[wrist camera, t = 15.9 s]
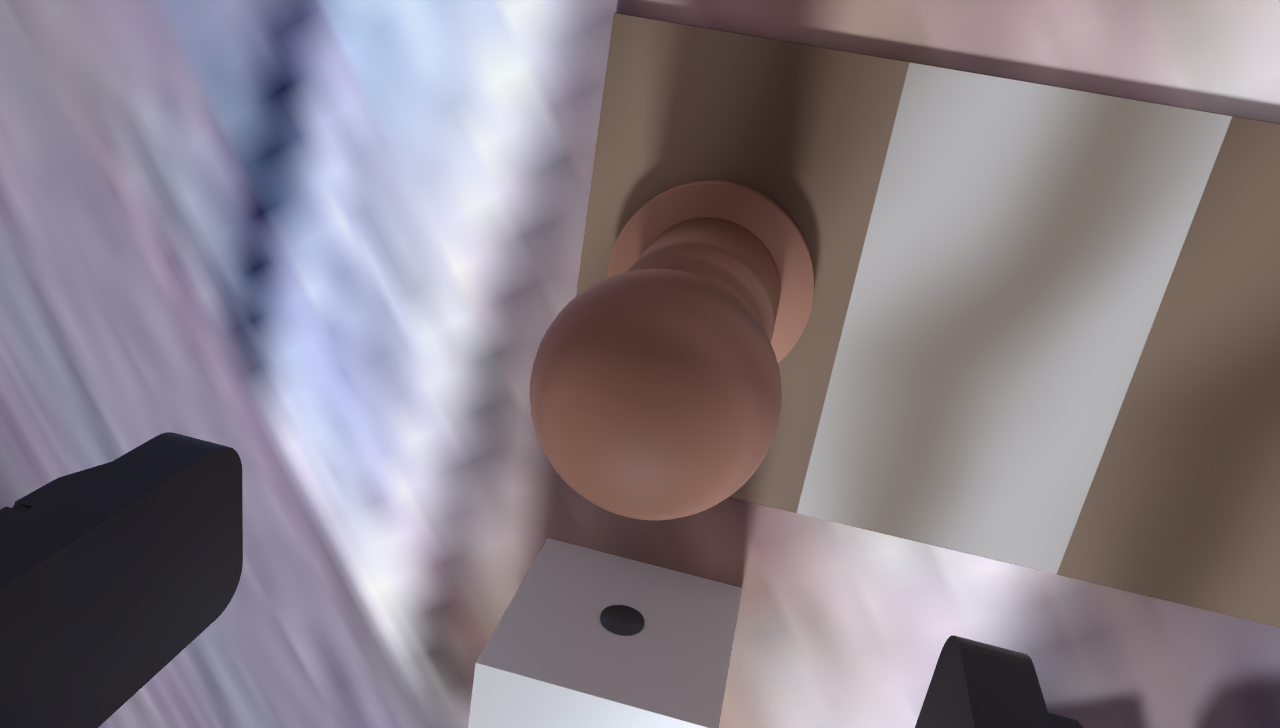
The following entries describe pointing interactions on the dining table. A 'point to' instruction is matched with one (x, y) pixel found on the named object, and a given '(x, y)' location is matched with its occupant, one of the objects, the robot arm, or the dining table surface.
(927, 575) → the dining table surface
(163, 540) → the robot arm
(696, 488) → the pawn
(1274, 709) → the dining table surface
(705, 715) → the die
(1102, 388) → the brown and white panel
